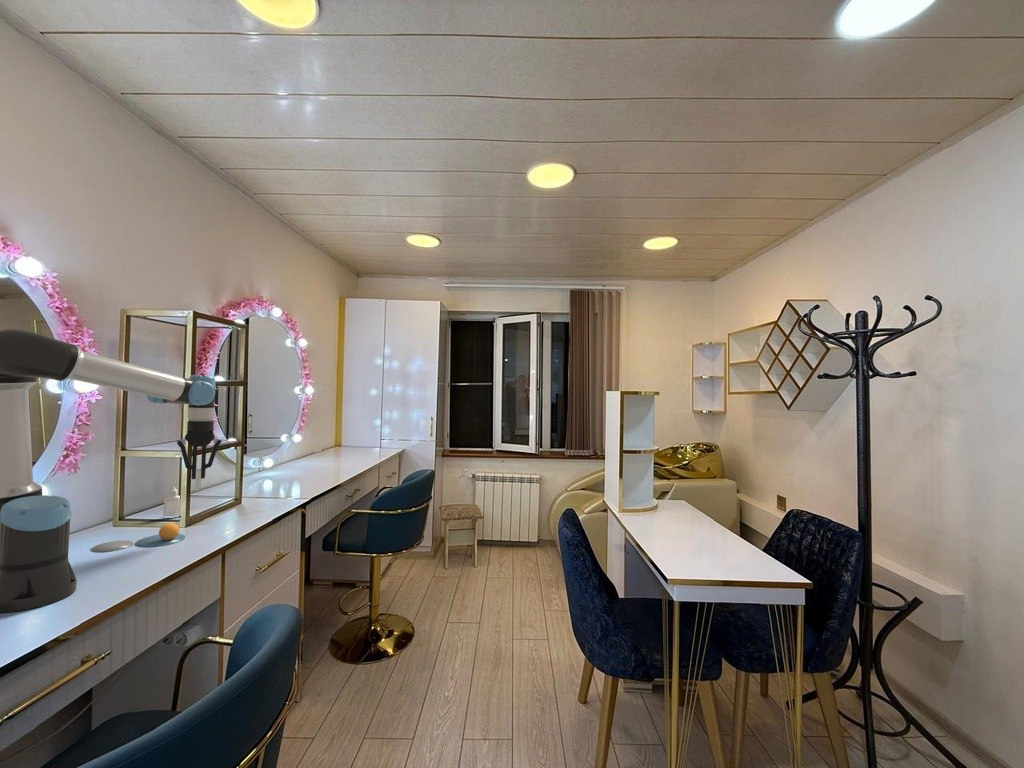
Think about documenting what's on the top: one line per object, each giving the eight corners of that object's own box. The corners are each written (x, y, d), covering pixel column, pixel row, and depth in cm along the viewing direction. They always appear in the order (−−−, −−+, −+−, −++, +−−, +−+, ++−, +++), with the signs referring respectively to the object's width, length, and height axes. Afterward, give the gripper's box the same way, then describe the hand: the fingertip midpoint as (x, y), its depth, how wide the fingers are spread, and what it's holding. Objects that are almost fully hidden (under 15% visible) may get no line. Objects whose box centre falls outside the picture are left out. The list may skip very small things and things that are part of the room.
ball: (179, 529, 148) (162, 542, 145) (185, 532, 153) (169, 544, 150) (168, 518, 149) (151, 530, 146) (175, 521, 154) (159, 533, 151)
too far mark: (108, 553, 136) (108, 552, 136) (82, 550, 138) (82, 549, 138) (141, 542, 146) (141, 542, 146) (116, 539, 148) (116, 539, 148)
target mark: (158, 548, 141) (158, 548, 141) (124, 544, 144) (124, 544, 144) (194, 536, 154) (194, 535, 154) (162, 532, 156) (162, 531, 156)
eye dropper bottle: (177, 519, 172) (179, 487, 172) (161, 519, 171) (162, 487, 171) (183, 515, 176) (185, 485, 177) (167, 516, 175) (168, 485, 175)
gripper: (222, 418, 162) (219, 484, 161) (177, 419, 154) (174, 487, 154) (223, 420, 155) (220, 488, 155) (176, 420, 148) (173, 492, 148)
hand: (197, 488), depth 154 cm, fingers closed
